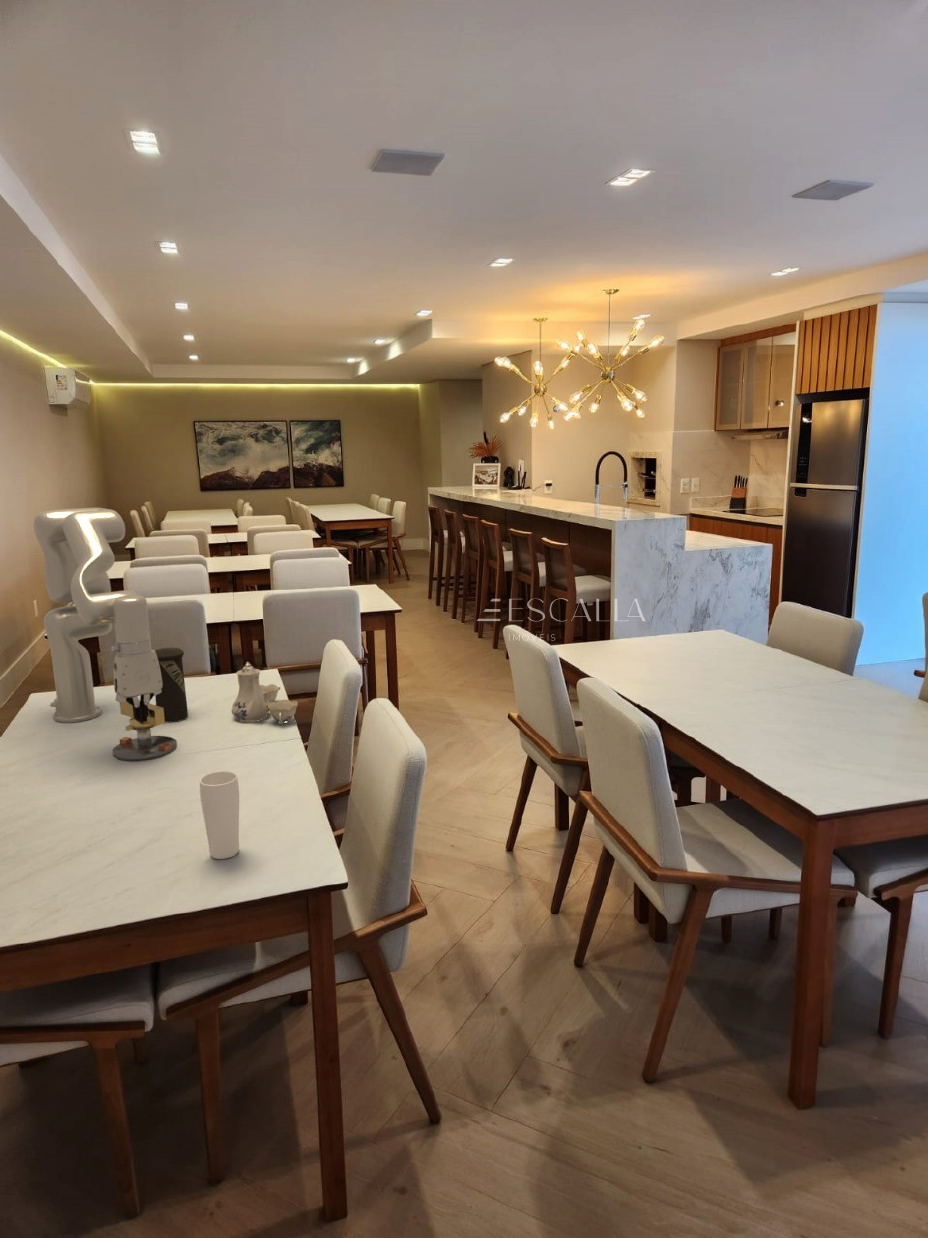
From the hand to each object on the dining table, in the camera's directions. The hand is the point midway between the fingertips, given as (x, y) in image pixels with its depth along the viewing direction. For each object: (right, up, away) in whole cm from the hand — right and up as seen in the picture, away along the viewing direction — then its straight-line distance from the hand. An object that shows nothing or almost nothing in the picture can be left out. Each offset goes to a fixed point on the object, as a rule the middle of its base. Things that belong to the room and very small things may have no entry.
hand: (141, 720), depth 193 cm
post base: (-2, -8, +7) cm, 11 cm away
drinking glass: (+34, -19, -45) cm, 59 cm away
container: (-4, -3, +31) cm, 32 cm away
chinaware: (+21, -3, +33) cm, 39 cm away
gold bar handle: (-2, -2, +6) cm, 7 cm away
